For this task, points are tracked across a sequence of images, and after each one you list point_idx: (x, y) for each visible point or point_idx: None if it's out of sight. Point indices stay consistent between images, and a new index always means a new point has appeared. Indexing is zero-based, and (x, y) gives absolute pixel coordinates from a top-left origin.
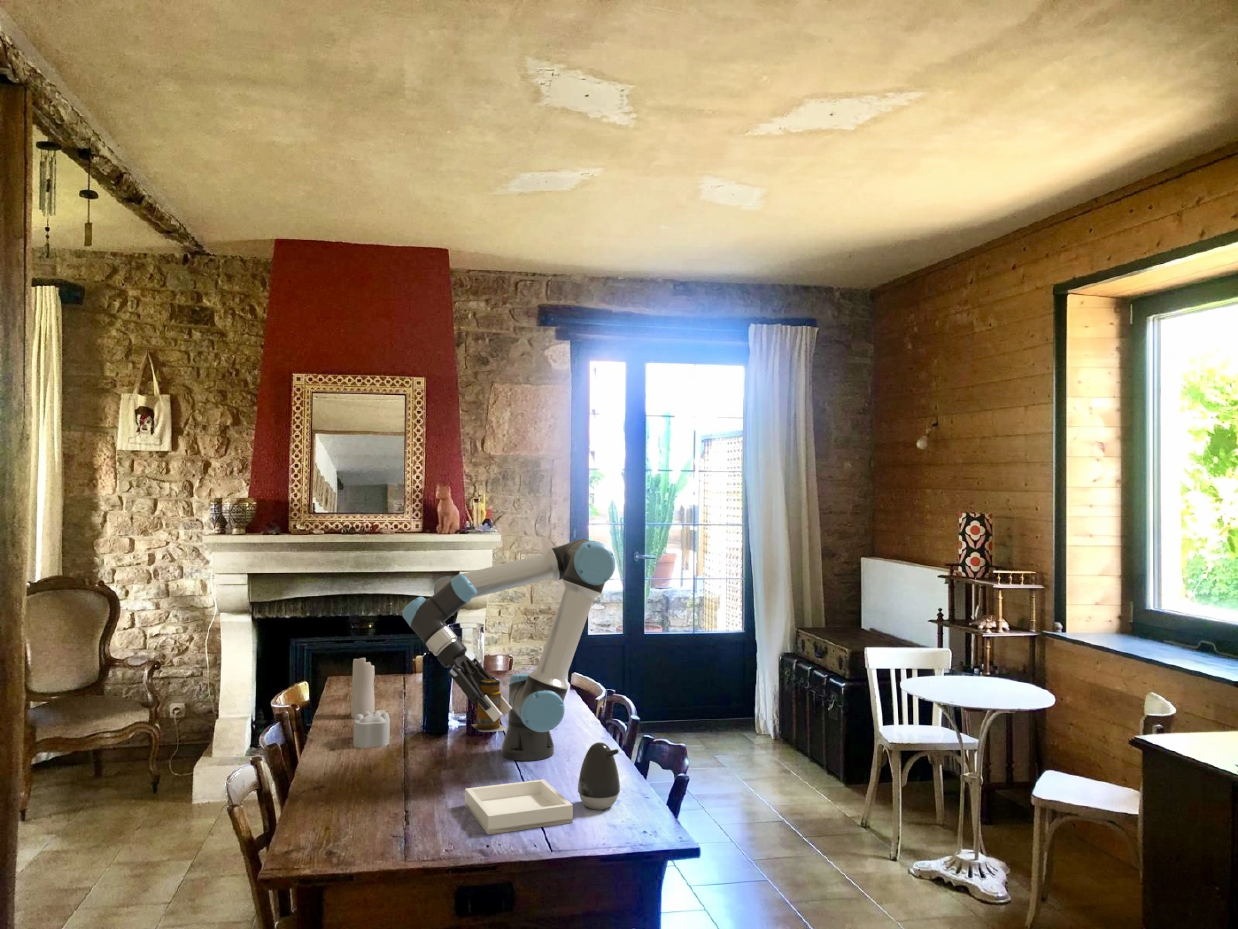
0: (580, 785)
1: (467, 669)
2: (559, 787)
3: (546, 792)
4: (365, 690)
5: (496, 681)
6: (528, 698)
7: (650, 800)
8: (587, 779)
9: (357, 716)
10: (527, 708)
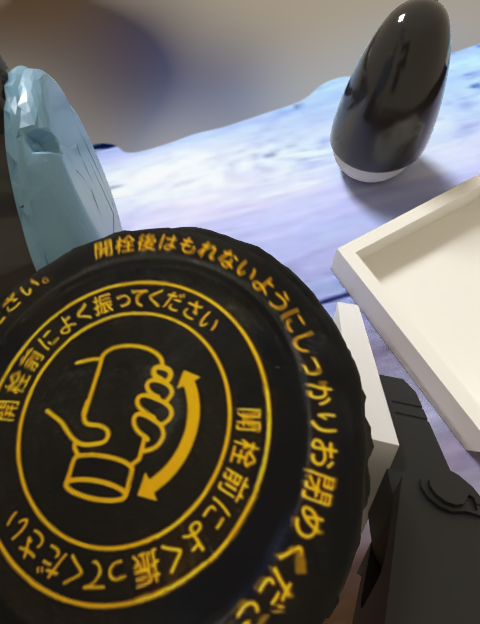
0: (417, 147)
1: None
2: (266, 247)
3: (389, 240)
4: None
5: (177, 259)
6: (44, 197)
7: (313, 100)
8: (437, 115)
9: None
10: (94, 232)
